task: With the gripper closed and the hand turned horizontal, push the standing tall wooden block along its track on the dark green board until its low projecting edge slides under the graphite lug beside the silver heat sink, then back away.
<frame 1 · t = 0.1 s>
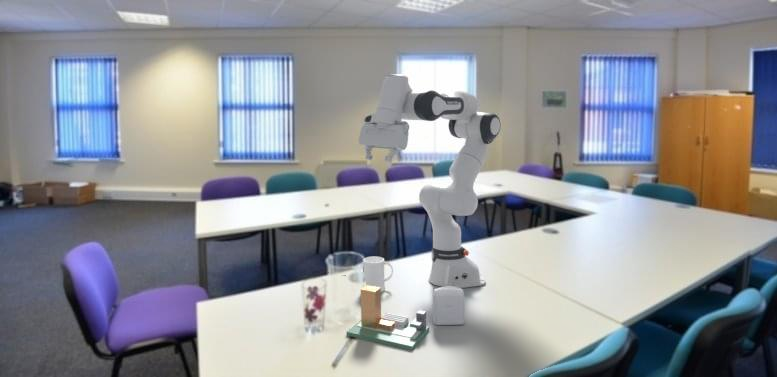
hand: (377, 160, 161), 52 cm above the table, tool tilted 20°, fingers open, 8 cm apart
mug: (378, 289, 188), on the table
photo printer: (448, 323, 158), on the table
board: (388, 332, 152), on the table
tall wooden block: (378, 307, 152), point 8 cm above the table, slide at 0.0 cm
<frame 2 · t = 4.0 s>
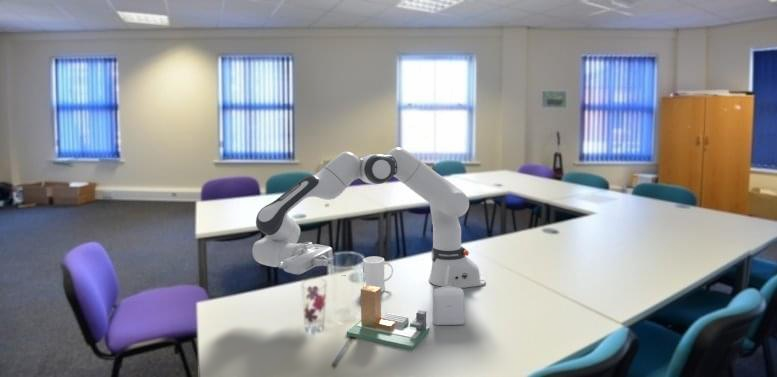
hand: (329, 262, 157), 20 cm above the table, tool horizontal, fingers closed
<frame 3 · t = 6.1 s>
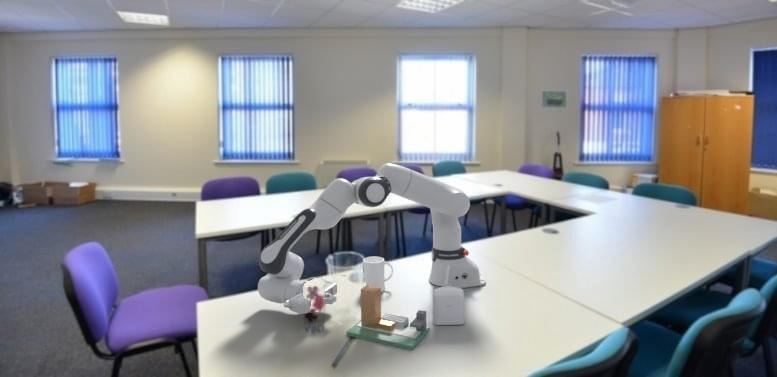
hand: (334, 300, 159), 7 cm above the table, tool horizontal, fingers closed
nothing on the table moved.
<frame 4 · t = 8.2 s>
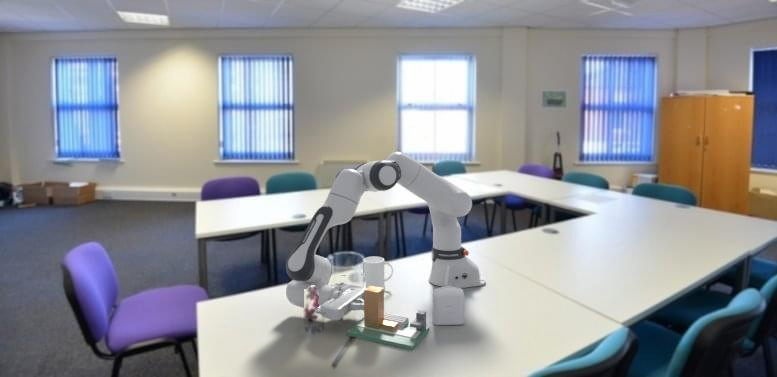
hand: (367, 306, 154), 7 cm above the table, tool horizontal, fingers closed, pressing on tall wooden block
tall wooden block: (381, 308, 151), point 8 cm above the table, slide at 1.1 cm, touching gripper
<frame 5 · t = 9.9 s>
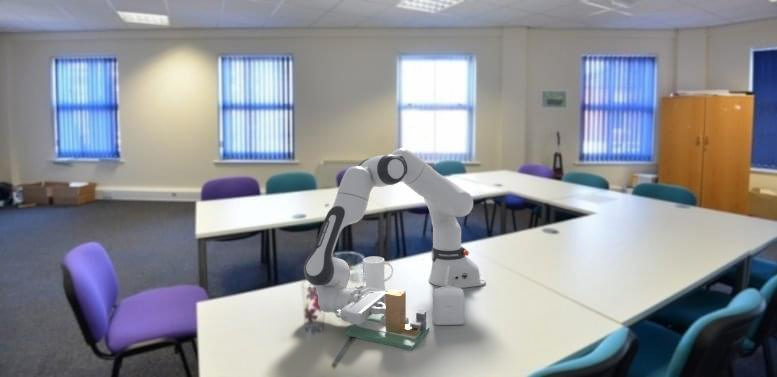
hand: (388, 310, 150), 7 cm above the table, tool horizontal, fingers closed, pressing on tall wooden block
tall wooden block: (403, 312, 148), point 8 cm above the table, slide at 8.6 cm, touching gripper
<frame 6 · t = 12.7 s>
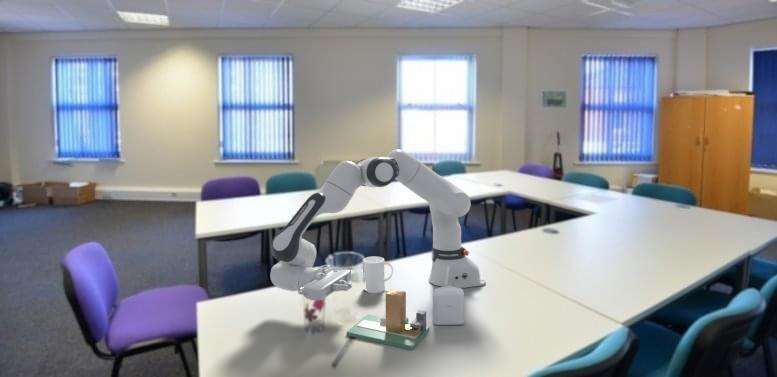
hand: (349, 287, 156), 13 cm above the table, tool horizontal, fingers closed
tall wooden block: (403, 312, 148), point 8 cm above the table, slide at 8.6 cm
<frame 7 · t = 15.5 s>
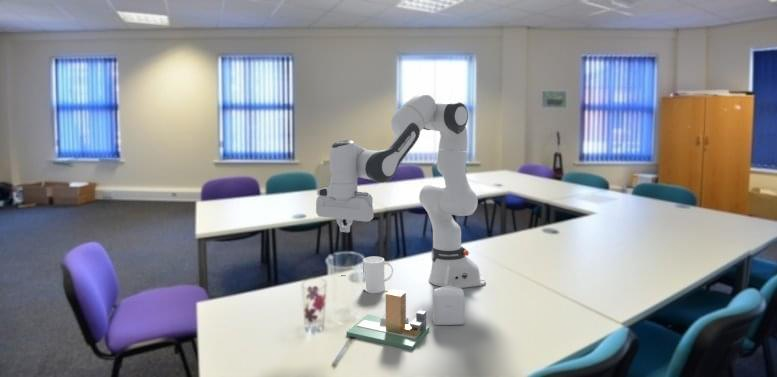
hand: (345, 231, 161), 29 cm above the table, tool pointing down, fingers closed
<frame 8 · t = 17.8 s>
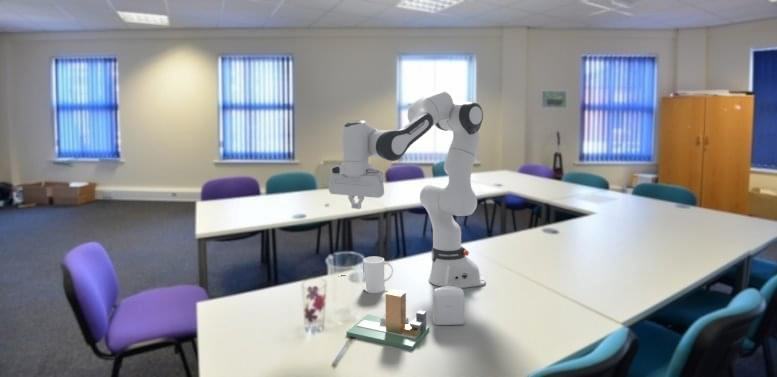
hand: (356, 208, 168), 35 cm above the table, tool pointing down, fingers closed
at the end: tall wooden block slide at 8.6 cm; tall wooden block touching nothing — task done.
